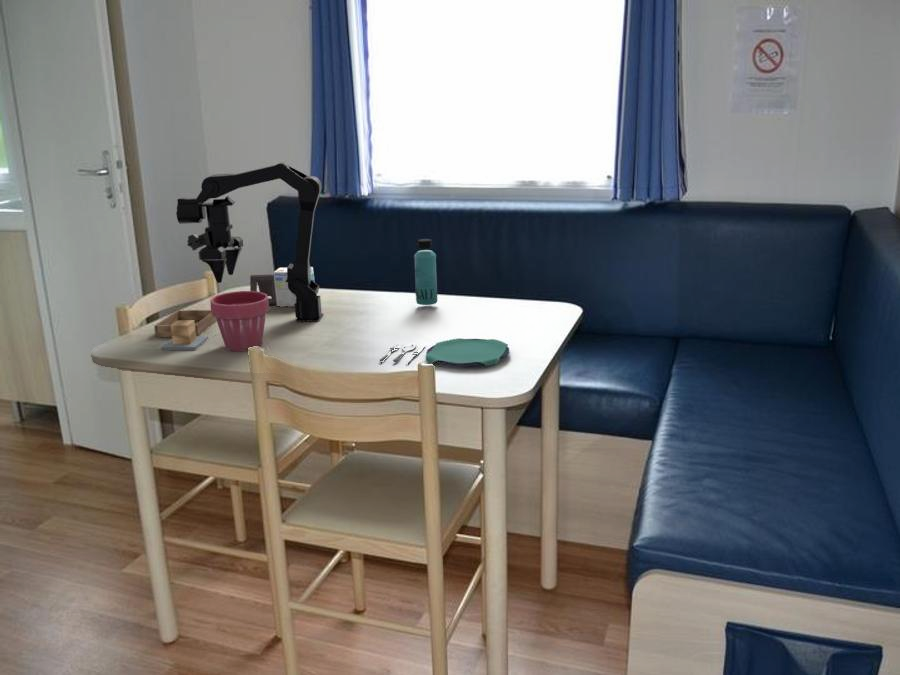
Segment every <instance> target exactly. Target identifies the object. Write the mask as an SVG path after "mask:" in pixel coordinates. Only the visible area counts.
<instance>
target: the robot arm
mask: <svg viewBox="0 0 900 675" xmlns="http://www.w3.org/2000/svg"><path fill="white" fill-rule="evenodd" d="M279 179H280V180H281V181H283V182H284V183H286V185H288V186H290V187H291V188H292V189H294V190H295V191H297V195H298V197H297V198H298V205H299V217H298V218H299V219H298V229H297V237H296V238H297V239H296V247H295V257H294V262H293V263H289V265H287V267H286V268H287V280H286V283H287V282H288V289H289V290H290V291H291V292H292V293H293V294H295V296H296V303H295V304H294V305H295V306H294V313H295V314H294V315H295V322H319V321H320V320H321V319H322V318H323V317H324V313H323V312H322V303H321V302H322V301H321V300H322V299H321V295H318V294H319V290H320V285H319V284H317V283H316V282H315V280H314V281H312V280H311V270H310V267H311V265H310V255H311V246H312V237H313V236H312V235H313V229H314V221H315V220H314V218H315V211H316V208H317V205H318V202H319V198H320V196H321V192H322V188H323V187H322V186H323V185H322V181H321V180H320V179H319V178H318V177H316V176H314V175H307V174H306V173H303V172H302V171H300V170H298V169H296V168H294V167H292V166H291V165H289V164H288V163H287V162H278V163H276V164H272V165H269V166H264V167H260V168H256V169H250V170H246V171H243V172H239V173H215V174H212V175H209V176H208V177H205V178H204V179H203V181H202V183H201V191H200V193H199V194H198V195H197V197H192V198H191V197H190V198H188V197H187V198H186V197H179V198H177V205H176V212H175V213H176V214H175V215H176V218H177V223H178V224H180V225H181V224H184V225H185V224H202V223H203V220H205V219H206V220H207V226H206V227H205V228H204V232H203V233H201V234H199V235H197V234H196V233H194V234H193V233H192V234H191V235H188V236H187V241H186V242H187V246H188V247H190V248H191V249H192V251H196V250H197V249H199V248H201V247H202V248H201V249H200V250H199V251H198V259H199V260H201V261H202V263H205V264H207V265H208V266H209V268H210V270H211V272H212V274H213V277H214V279H215V281H216V283H217V284H221V283H222V281H223V278H224V272H225V268H226V270H227V273H228V276H233V275H234V272H235V268H236V266H237V263H238V260H239V257H240V254H241V251H242V250H243V247H244V239H243V238H242V237H240V236H239V235H238V236H232V232H231V230H232V229H233V224H232V223H231V222H230V213H229V207H230V206H234V205H235V204H236V201H235V200H233V199H232V198H231V197H230V196H229V195H227V196H225V195H226V194H229V193H231V192H234V191H236V190H237V189H240V188H245V187H249V186H253V185H258V184H261V183H263V184H264V183H266V182H271V181H275V180H279ZM223 196H225V198H219V197H223ZM211 199H212V202H208V201H209V200H211ZM228 206H229V207H228Z"/></svg>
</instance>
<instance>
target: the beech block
mask: <svg viewBox="0 0 900 675" xmlns="http://www.w3.org/2000/svg"><path fill="white" fill-rule="evenodd" d="M195 322H196V321H194V320H177V321H176V322H174V323H173V324H172V325H171V333H172V337H171V339H172V340H173V344H191V343H192V342H193V341H195V340H196V339H197V338H196V330H195V324H196V323H195Z"/></svg>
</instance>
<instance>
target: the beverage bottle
mask: <svg viewBox="0 0 900 675" xmlns="http://www.w3.org/2000/svg"><path fill="white" fill-rule="evenodd" d="M432 243H433V242H432V239H429V238H421V239H418V240H417V248H418V249H422V250H418V251H416V253H415V254H414V256H413V257H414V270H413V271H414V280H415V284H414V286H415V288H414V289H415V293H414V294H415V302H416V304H417V305H421V306H431V305H435V304H437V303H438V280H437V254H436V253H435V252H434V251H433V250H431V249H429V248H432V247H433V244H432Z"/></svg>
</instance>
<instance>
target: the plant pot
mask: <svg viewBox="0 0 900 675" xmlns="http://www.w3.org/2000/svg"><path fill="white" fill-rule="evenodd" d="M268 298H269V296H267V295H266V294H265V293H262V292H259V291H258V290H257V291H250V290H238V291H231V292H230V291H229V292H224V293H220V294H217V295H214V296H212V297H211V298H210V304H209V305H210V310H211V314H212V315H213V316H214V317H216V320H217V322H216V324H217V326H218V329H219V331H220V335H221V338H222V340H223V343H224V347H225V348H227V350H228V351H231V350H234V351H233V352H248V351H249V350H248V348H249V347H253V346H260V347H262V345H263V339H264V333H265V332H264V331H265V323H266V316H267V313H268V312H269V310H270V305H269V302H268ZM242 350H243V351H242ZM244 350H245V351H244ZM247 350H248V351H247Z"/></svg>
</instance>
